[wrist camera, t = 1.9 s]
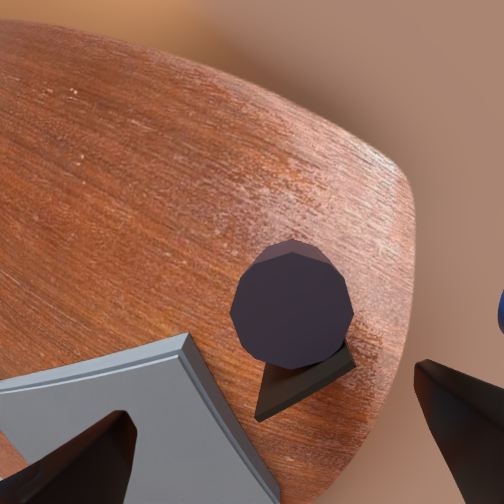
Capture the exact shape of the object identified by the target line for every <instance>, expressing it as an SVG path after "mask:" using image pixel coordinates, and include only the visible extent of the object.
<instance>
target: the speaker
mask: <svg viewBox="0 0 504 504" xmlns="http://www.w3.org/2000/svg"><path fill="white" fill-rule="evenodd" d="M230 315H231V318H232V321H233V324H234V326H235V329H236V332H237V334H238V337H239V340H240V342H241V345H242V347H243V348H244V349H245V350H246V351H247V352H249V353H250V354H251V355H252V356H253V357H254V358H255V359H257V360H260V361H263V362H266V364H265V369H264V373H263V378H262V383H261V388H260V392H259V397H258V401H257V406H256V410H255V415H254V418H255V419H256V420H257V421H258V422H259V423H260V422H262V421H263V420H265V419H267V418H269V417H271V416H273V415H275V414H277V413H279V412H281V411H283V410H285V409H286V408H288V407H290V406H292V405H294V404H296V403H297V402H299V401H301V400H303V399H304V398H306V397H308V396H310V395H311V394H313V393H315V392H317V391H318V390H320V389H322V388H323V387H325V386H327V385H328V384H330V383H332V382H333V381H335V380H336V379H338V378H340V377H341V376H343V375H344V374H346V373H347V372H349V371H351V370H352V369H354V368H355V367H356V364H355V361H354V359H353V356H352V353H351V351H350V348H349V346H348V343H347V340H346V338H345V335H346V333H347V330H348V328H349V325H350V323H351V321H352V318H353V316H354V312H353V309H352V305H351V301H350V298H349V294H348V290H347V287H346V283H345V280H344V278H343V276H342V275H341V274H340V273H339V272H338V270H337V269H336V268H335V267H334V265H333V264H332V263H331V262H330V261H329V259H328V258H327V257H326V256H325V255H324V254H323V253H322V252H321V251H320V250H319V249H318V248H317V247H315V246H312V245H309V244H306V243H303V242H300V241H297V240H294V239H291V240H288V241H284V242H281V243H278V244H275V245H272V246H269V247H267V248H266V249H265V250H264V251H263V252H262V253H261V254H260V255H259V256H258V257H257V258H256V260H255V261H254V262H253V263H252V264H251V266H250V267H249V268H248V269H247V271H246V272H245V273H244V274H243V275H242V277H241V278H240V281H239V284H238V287H237V291H236V294H235V297H234V300H233V304H232V307H231V310H230Z"/></svg>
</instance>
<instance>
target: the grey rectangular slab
mask: <svg viewBox="0 0 504 504" xmlns="http://www.w3.org/2000/svg"><path fill="white" fill-rule="evenodd" d="M114 410H125V411H127V412H128V413H129V415H130V417H131V419H132V421H133V422H134V424H135V426H136V428H137V431H138V435H137V441H136V448H135V454H134V461H133V467H132V472H131V476H130V480H129V484H128V488H127V492H126V495H125V499H124V503H123V504H280V486H279V484H278V483H277V482H276V480H275V479H274V477H273V476H272V474H271V473H270V471H269V470H268V468H267V467H266V465H265V463H264V462H263V460H262V459H261V457H260V456H259V454H258V453H257V451H256V449H255V448H254V446H253V445H252V443H251V441H250V440H249V438H248V437H247V435H246V433H245V432H244V430H243V428H242V427H241V425H240V423H239V422H238V420H237V418H236V417H235V415H234V413H233V412H232V410H231V408H230V407H229V405H228V403H227V401H226V400H225V398H224V396H223V394H222V393H221V391H220V389H219V387H218V386H217V384H216V382H215V380H214V378H213V377H212V375H211V373H210V371H209V369H208V367H207V365H206V364H205V362H204V360H203V358H202V356H201V354H200V352H199V350H198V349H197V347H196V345H195V343H194V341H193V339H192V337H191V335H190V333H189V332H186V333H183V334H180V335H176V336H173V337H170V338H166V339H163V340H159V341H156V342H153V343H149V344H146V345H142V346H139V347H135V348H131V349H128V350H124V351H121V352H117V353H113V354H109V355H106V356H102V357H98V358H94V359H90V360H86V361H83V362H79V363H75V364H71V365H66V366H62V367H58V368H54V369H50V370H45V371H41V372H37V373H32V374H28V375H23V376H18V377H14V378H9V379H4V380H0V430H1V431H2V433H3V434H4V435H5V437H6V438H7V439H8V440H9V442H10V443H11V444H12V445H13V446H14V448H15V449H16V450H17V451H18V452H19V453H20V455H21V456H22V457H23V458H24V459H25V460H26V461H27V463H28V464H29V465H31V464H33V463H35V462H36V461H38V460H41V458H43V457H44V456H46V455H47V454H49V453H51V452H52V451H54V450H55V449H57V448H58V447H60V446H62V445H63V444H65V443H66V442H68V441H69V440H71V439H72V438H74V437H75V436H77V435H78V434H80V433H81V432H83V431H84V430H86V429H87V428H89V427H90V426H92V425H93V424H95V423H96V422H98V421H99V420H101V419H102V418H104V417H105V416H107V415H108V414H110V413H111V412H112V411H114Z"/></svg>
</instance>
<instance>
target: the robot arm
mask: <svg viewBox="0 0 504 504" xmlns="http://www.w3.org/2000/svg"><path fill="white" fill-rule="evenodd" d="M414 369H415V370H414V390H415V393H416V395H417V398H418V401H419V403H420V406H421V408H422V411H423V413H424V416H425V419H426V422H427V424H428V427H429V429H430V431H431V433H432V435H433V437H434V439H435V441H436V443H437V445H438V447H439V449H440V451H441V453H442V455H443V457H444V459H445V461H446V463H447V465H448V467H449V469H450V471H451V473H452V475H453V477H454V480H455V482H456V484H457V486H458V488H459V490H460V492H461V494H462V497H463V499H464V501H465V503H466V504H504V389H503V388H500V387H498V386H495V385H492V384H490V383H487V382H484V381H482V380H479V379H477V378H474V377H472V376H469V375H467V374H464V373H462V372H459V371H457V370H454V369H452V368H449V367H447V366H444V365H442V364H439V363H436V362H434V361H432V360H429V359H426V360H423V361H420V362H417V363H416V364H415V368H414ZM137 435H138V431H137V428H136V426H135V424H134V422H133V421H132V419H131V417H130V415H129V413H128V412H127V411H125V410H114V411H112V412H111V413H110V414H108V415H107V416H105V417H104V418H102V419H101V420H99V421H98V422H96V423H95V424H93V425H92V426H90V427H89V428H87V429H86V430H84V431H83V432H81V433H80V434H78V435H77V436H75V437H74V438H72V439H71V440H69V441H68V442H66V443H65V444H63V445H62V446H60V447H58V448H57V449H55V450H54V451H52V452H51V453H49V454H47V455H46V456H44V457H43V458H41V460H38V461H36V462H35V463H33V464H31V465H30V466H28V467H26V468H25V469H23V470H21V471H19V472H17V473H15V474H13V475H12V476H10V477H8V478H5V479H3V480H1V481H0V504H123V503H124V499H125V495H126V492H127V488H128V484H129V480H130V476H131V472H132V467H133V461H134V454H135V448H136V441H137Z"/></svg>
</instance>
